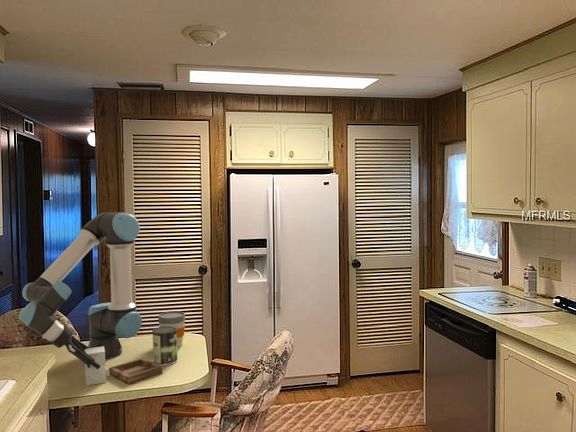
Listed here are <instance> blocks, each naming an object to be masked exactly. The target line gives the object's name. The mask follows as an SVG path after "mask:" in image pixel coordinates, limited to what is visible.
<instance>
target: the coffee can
mask: <svg viewBox="0 0 576 432" xmlns="http://www.w3.org/2000/svg"><path fill="white" fill-rule="evenodd" d="M151 333H152V351H153V352H152V353H153V355H152V357H153V362H154V363H156V364H158V365H160V366H162V367H163V366H165V367H167V366H170V365H174V364H176V363H178V361H179V360H178V348H177V328H175V327H170V326H165V327H160V326H159V327H156V328H153V329H152V332H151Z"/></svg>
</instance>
